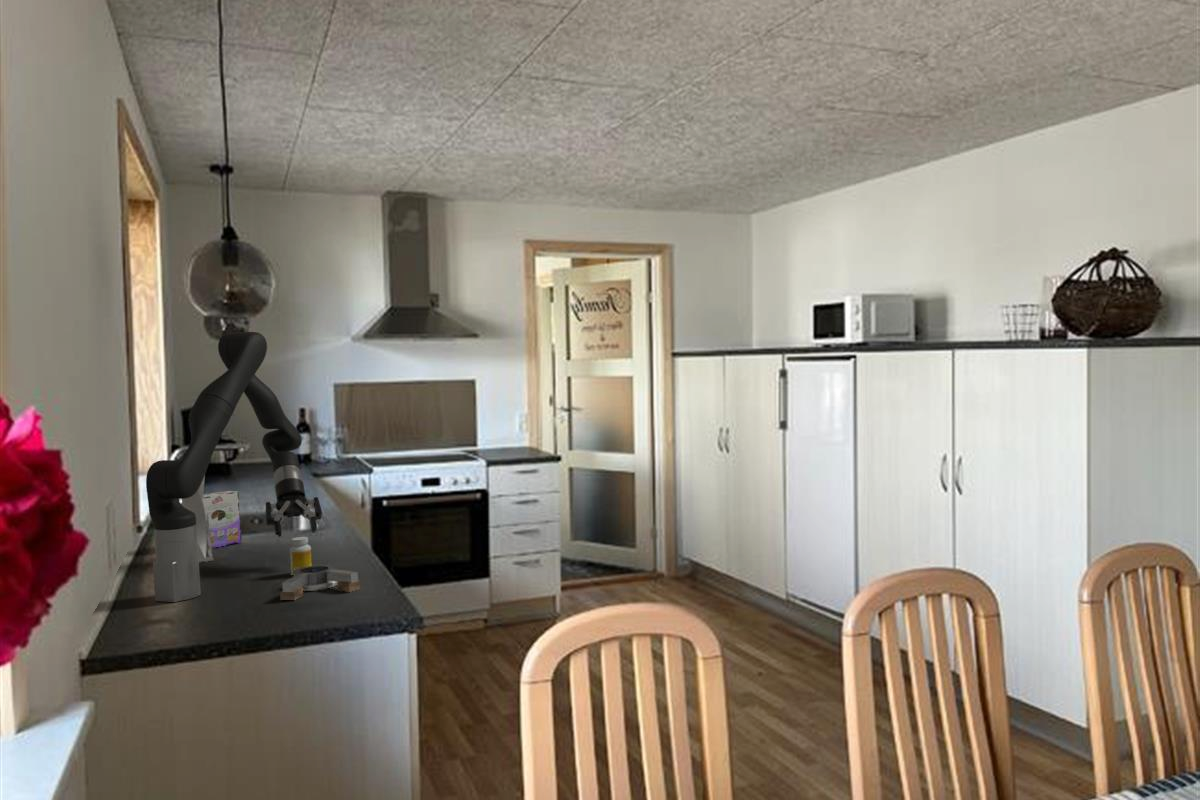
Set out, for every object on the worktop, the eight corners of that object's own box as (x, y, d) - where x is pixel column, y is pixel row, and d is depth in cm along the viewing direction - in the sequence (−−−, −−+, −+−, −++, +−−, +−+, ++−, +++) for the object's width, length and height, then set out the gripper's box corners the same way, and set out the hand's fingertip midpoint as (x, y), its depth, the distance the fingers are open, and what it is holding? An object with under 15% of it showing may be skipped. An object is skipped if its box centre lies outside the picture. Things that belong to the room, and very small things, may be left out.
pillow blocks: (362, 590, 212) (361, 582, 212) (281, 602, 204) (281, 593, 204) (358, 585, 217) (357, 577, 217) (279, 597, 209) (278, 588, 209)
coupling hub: (320, 593, 211) (319, 576, 211) (279, 590, 215) (278, 574, 215) (349, 580, 223) (349, 564, 223) (310, 578, 227) (309, 562, 226)
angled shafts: (326, 594, 202) (326, 585, 202) (277, 591, 206) (277, 582, 206) (361, 579, 215) (360, 570, 215) (314, 576, 219) (314, 568, 219)
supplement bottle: (287, 575, 231) (285, 538, 231) (306, 570, 235) (304, 535, 234) (297, 578, 227) (295, 541, 227) (316, 573, 231) (314, 537, 231)
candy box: (232, 541, 279) (229, 489, 278) (242, 543, 275) (239, 491, 274) (189, 549, 268) (186, 496, 267) (198, 552, 264) (195, 497, 263)
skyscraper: (213, 562, 249) (207, 464, 248) (182, 566, 246) (175, 466, 244) (212, 556, 257) (206, 461, 255) (182, 560, 253) (176, 463, 252)
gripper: (262, 479, 239) (269, 528, 230) (316, 474, 245) (325, 521, 236) (261, 496, 244) (268, 544, 235) (314, 491, 250) (323, 537, 241)
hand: (296, 533), depth 235 cm, fingers open, 8 cm apart
